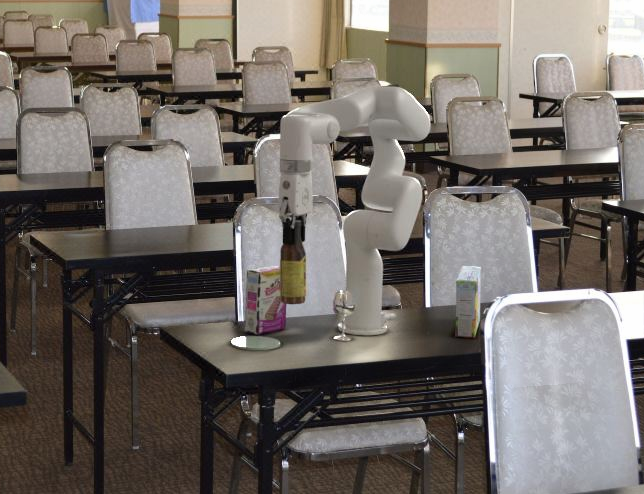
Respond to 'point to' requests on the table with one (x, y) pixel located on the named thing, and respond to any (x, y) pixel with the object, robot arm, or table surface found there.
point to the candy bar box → (264, 301)
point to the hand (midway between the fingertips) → (293, 242)
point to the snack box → (468, 301)
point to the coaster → (255, 343)
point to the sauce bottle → (293, 270)
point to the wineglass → (343, 308)
